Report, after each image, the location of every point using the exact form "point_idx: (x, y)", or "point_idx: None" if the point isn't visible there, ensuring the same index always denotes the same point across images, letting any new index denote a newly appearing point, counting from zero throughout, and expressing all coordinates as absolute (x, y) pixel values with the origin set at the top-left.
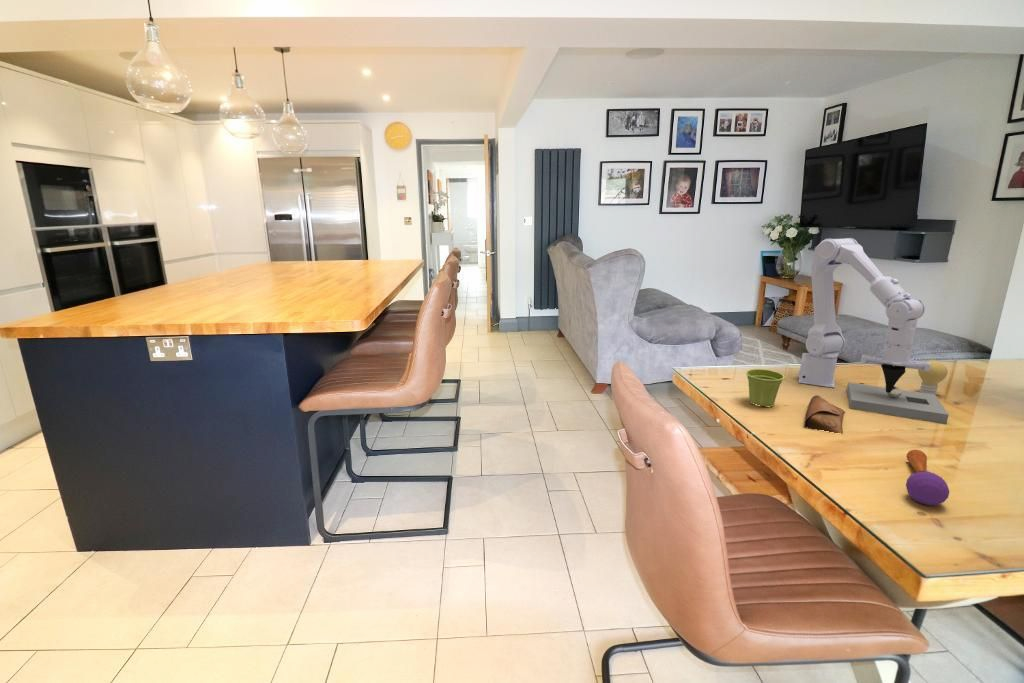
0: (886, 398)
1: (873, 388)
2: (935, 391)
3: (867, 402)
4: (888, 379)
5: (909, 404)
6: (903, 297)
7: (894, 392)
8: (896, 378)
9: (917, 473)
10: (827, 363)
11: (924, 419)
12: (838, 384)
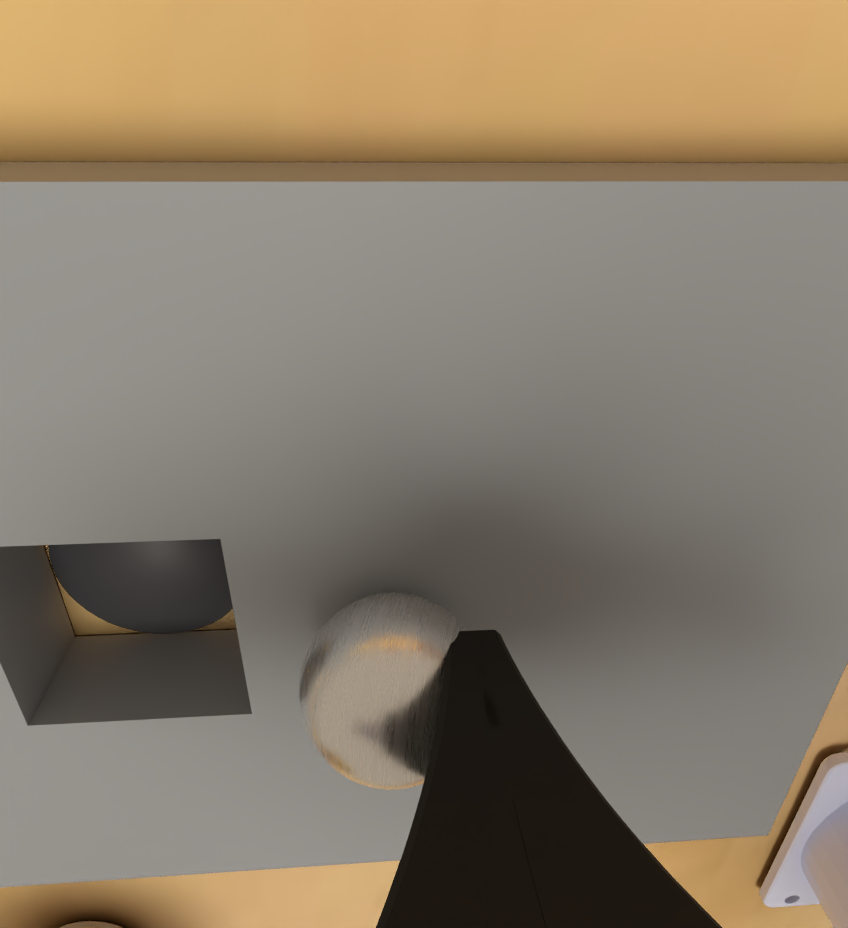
0: (483, 528)
1: None
2: None
3: (832, 179)
4: (583, 829)
5: (198, 426)
6: None
7: (402, 632)
8: (446, 889)
9: None
10: None
11: (4, 165)
12: (742, 841)
